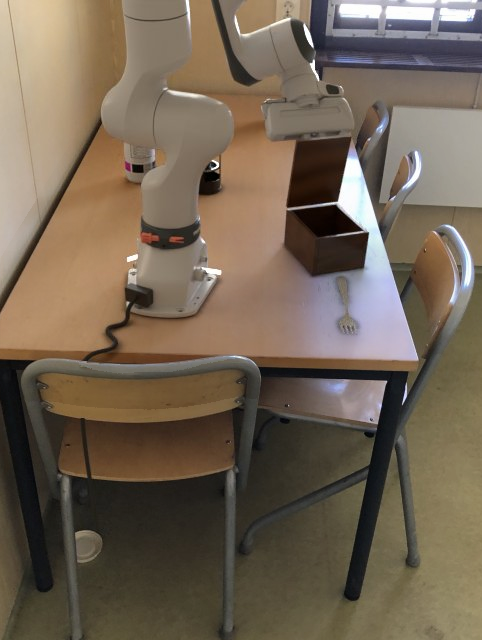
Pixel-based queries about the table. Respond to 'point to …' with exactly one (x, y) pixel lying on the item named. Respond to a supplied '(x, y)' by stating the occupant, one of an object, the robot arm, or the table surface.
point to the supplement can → (138, 162)
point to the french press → (211, 178)
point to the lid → (317, 170)
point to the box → (325, 239)
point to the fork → (346, 318)
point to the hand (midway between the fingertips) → (317, 155)
